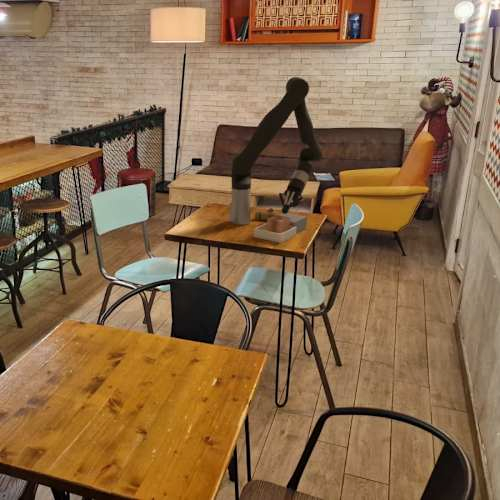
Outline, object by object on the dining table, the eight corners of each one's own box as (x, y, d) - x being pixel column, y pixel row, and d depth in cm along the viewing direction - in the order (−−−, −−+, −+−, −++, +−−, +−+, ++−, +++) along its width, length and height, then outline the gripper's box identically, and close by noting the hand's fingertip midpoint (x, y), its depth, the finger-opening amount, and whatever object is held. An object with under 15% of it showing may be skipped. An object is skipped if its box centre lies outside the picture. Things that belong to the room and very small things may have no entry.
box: (253, 237, 213) (253, 228, 212) (269, 229, 224) (270, 221, 223) (280, 243, 206) (281, 234, 204) (296, 235, 217) (296, 227, 216)
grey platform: (271, 230, 224) (272, 217, 221) (284, 224, 233) (284, 212, 231) (294, 235, 217) (294, 222, 215) (306, 228, 227) (307, 216, 225)
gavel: (263, 204, 256) (281, 205, 254) (262, 212, 258) (281, 214, 256) (255, 211, 237) (274, 213, 235) (254, 220, 238) (274, 222, 236)
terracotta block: (276, 229, 221) (266, 233, 215) (276, 215, 219) (267, 218, 212) (289, 232, 217) (280, 236, 211) (289, 217, 215) (280, 221, 209)
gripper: (283, 175, 223) (268, 206, 218) (308, 179, 216) (294, 211, 211) (288, 184, 229) (274, 214, 224) (313, 188, 222) (299, 219, 217)
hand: (283, 212), depth 217 cm, fingers closed
